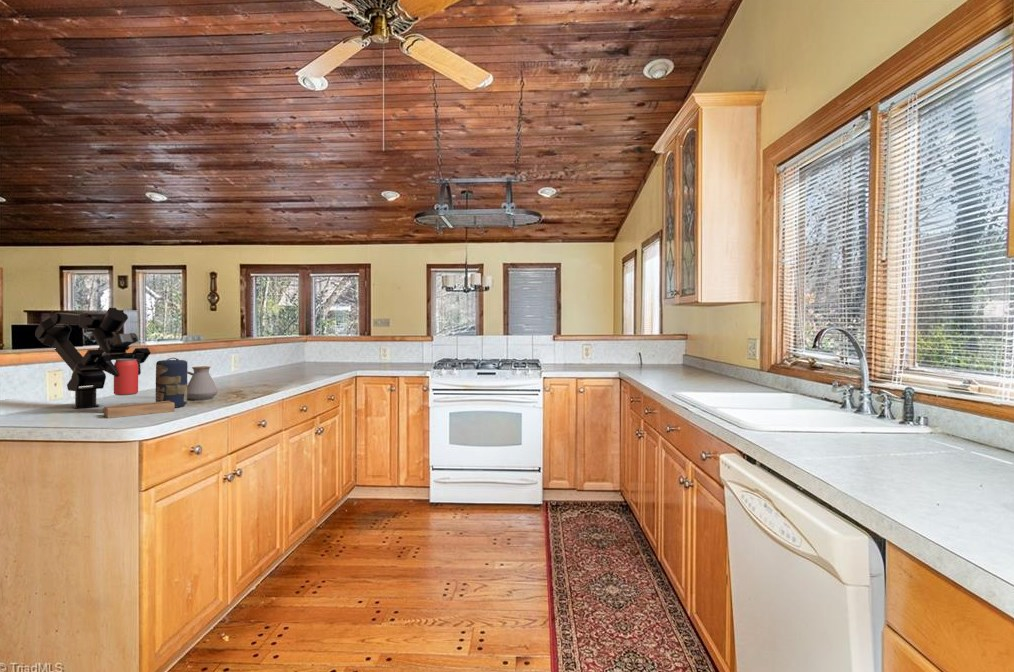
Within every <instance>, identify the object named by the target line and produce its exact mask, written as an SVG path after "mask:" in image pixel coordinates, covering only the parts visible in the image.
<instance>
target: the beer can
mask: <svg viewBox="0 0 1014 672" xmlns="http://www.w3.org/2000/svg"><path fill="white" fill-rule="evenodd" d="M136 360H137V359H116V360H115V362H114V364H113V365H114V366H115V368H116V370H117V372H118V374H119V375H118V377H116V376H114V375H113V394H114V396H122V397H123V396H134V395H137V394H138V393H139V375H138V363H137V361H136Z"/></svg>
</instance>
